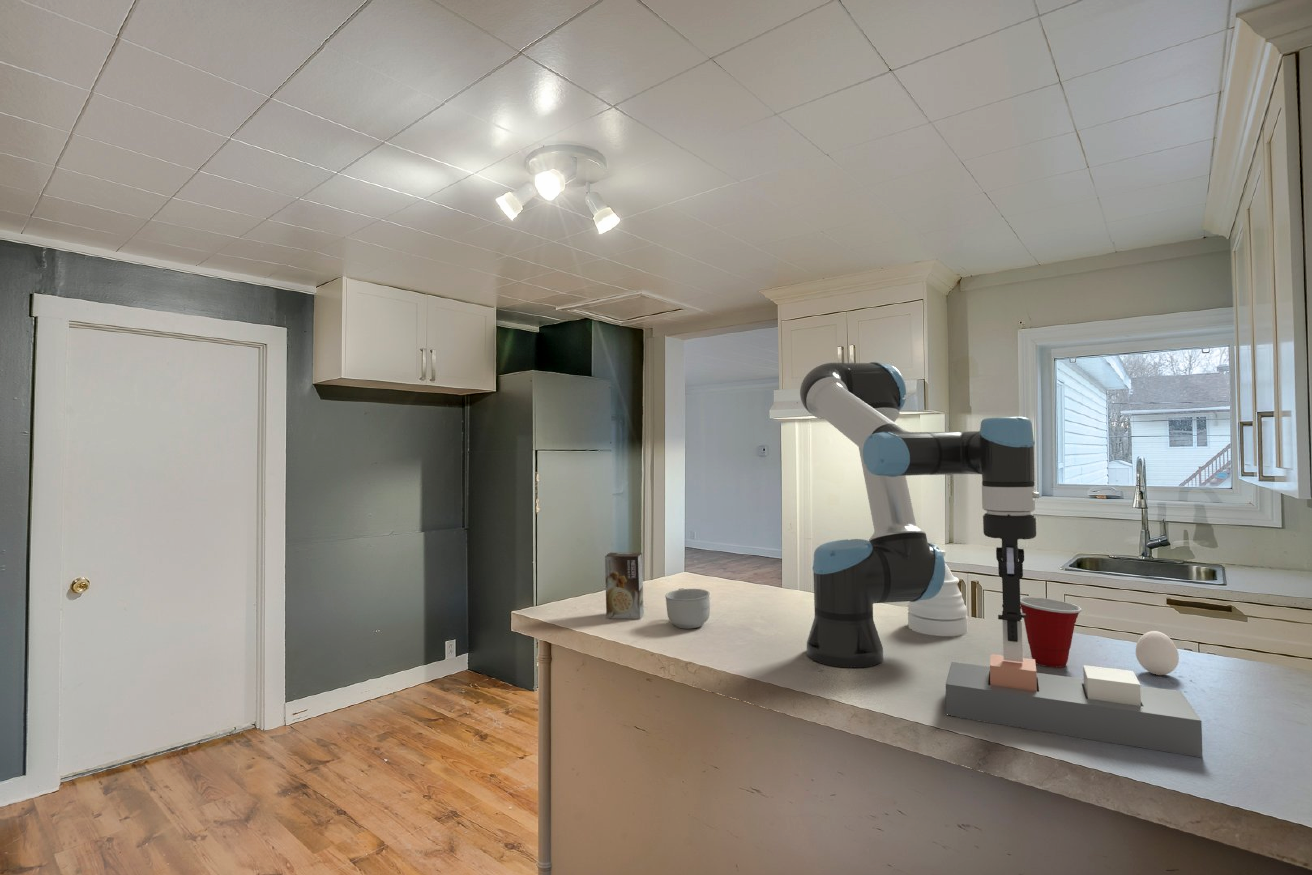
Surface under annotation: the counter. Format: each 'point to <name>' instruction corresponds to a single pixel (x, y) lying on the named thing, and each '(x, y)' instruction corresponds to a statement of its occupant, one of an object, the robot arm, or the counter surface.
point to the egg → (1157, 653)
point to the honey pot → (940, 610)
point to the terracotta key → (1013, 673)
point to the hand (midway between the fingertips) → (1013, 659)
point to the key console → (1076, 711)
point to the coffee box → (624, 585)
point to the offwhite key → (1111, 685)
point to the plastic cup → (1049, 629)
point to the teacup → (688, 607)
